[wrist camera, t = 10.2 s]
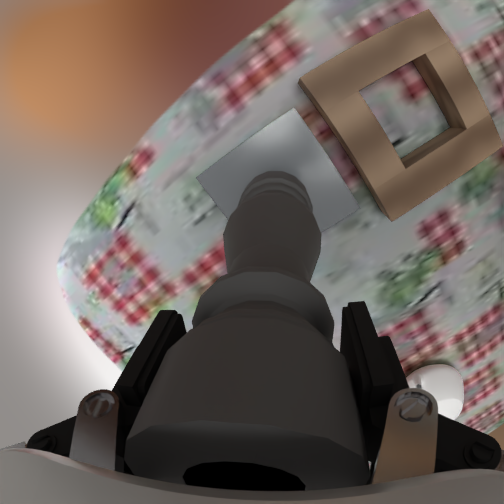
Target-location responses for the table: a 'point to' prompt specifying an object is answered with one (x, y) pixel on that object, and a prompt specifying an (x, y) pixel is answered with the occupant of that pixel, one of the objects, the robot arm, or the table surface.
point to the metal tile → (281, 159)
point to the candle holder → (256, 367)
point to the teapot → (440, 387)
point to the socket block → (371, 133)
